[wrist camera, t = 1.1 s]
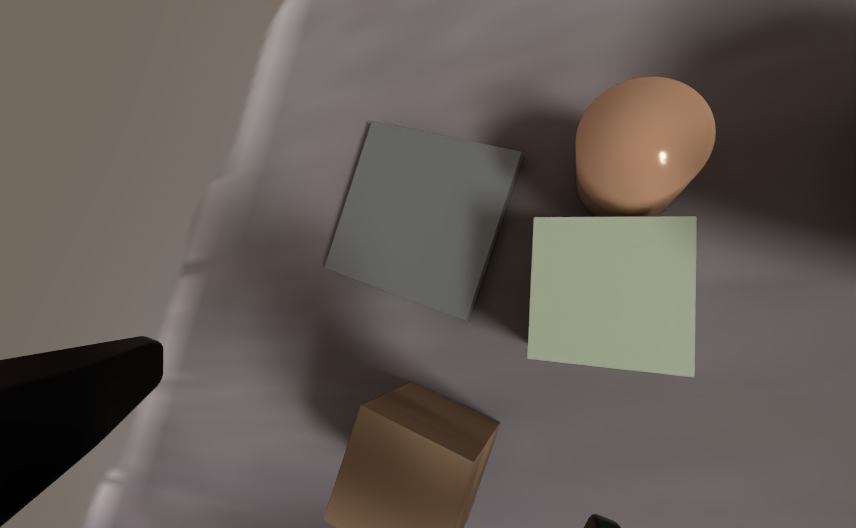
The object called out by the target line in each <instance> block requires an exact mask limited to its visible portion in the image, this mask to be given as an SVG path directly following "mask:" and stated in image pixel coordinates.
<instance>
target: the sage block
mask: <svg viewBox="0 0 856 528" xmlns="http://www.w3.org/2000/svg"><path fill="white" fill-rule="evenodd" d="M696 219H697V216H663V217H534V225H533V247H532V269H531V292H530V314H529V336H528V358H527V359H535V360H544V361H553V362H562V363H571V364H580V365H589V366H598V367H607V368H616V369H625V370H633V371H642V372H651V373H660V374H669V375H678V376H687V377H694V371H695V295H696Z"/></svg>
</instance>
